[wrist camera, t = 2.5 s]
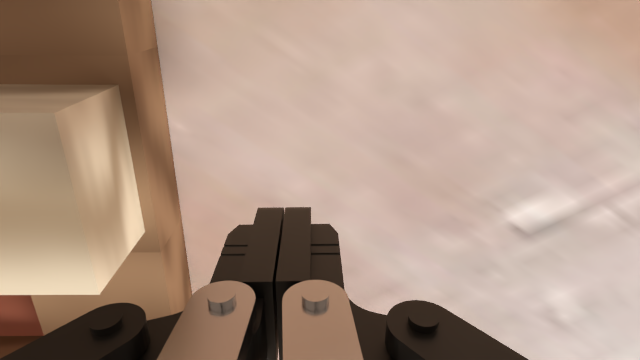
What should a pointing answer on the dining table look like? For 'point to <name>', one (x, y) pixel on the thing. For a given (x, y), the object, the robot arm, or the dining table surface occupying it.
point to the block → (64, 189)
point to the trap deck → (143, 135)
